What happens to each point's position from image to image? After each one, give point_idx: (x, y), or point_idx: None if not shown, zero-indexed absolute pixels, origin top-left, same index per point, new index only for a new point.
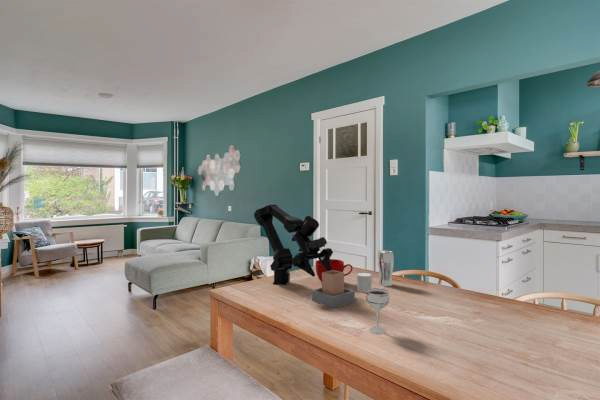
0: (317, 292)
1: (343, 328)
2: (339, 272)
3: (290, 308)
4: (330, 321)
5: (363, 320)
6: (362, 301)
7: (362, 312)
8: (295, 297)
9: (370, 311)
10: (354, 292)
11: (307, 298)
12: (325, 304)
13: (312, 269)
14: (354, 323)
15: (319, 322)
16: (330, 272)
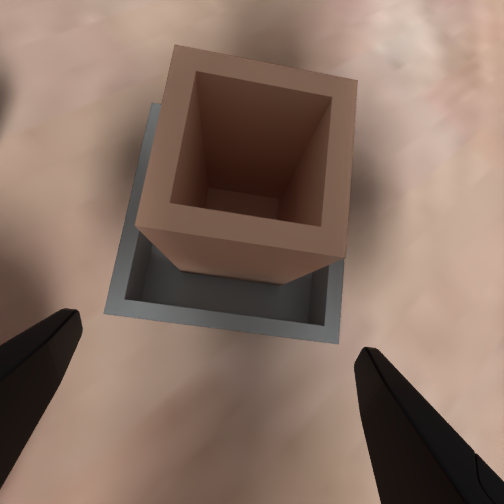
0: (342, 282)
1: (457, 35)
2: (190, 96)
3: (484, 339)
4: (448, 100)
5: (347, 12)
6: (137, 111)
7: (276, 48)
8: (344, 466)
9: (241, 28)
10: (155, 109)
11: (305, 387)
12: None
13: (412, 412)
14: (395, 25)
15: (487, 127)
16: (219, 215)
